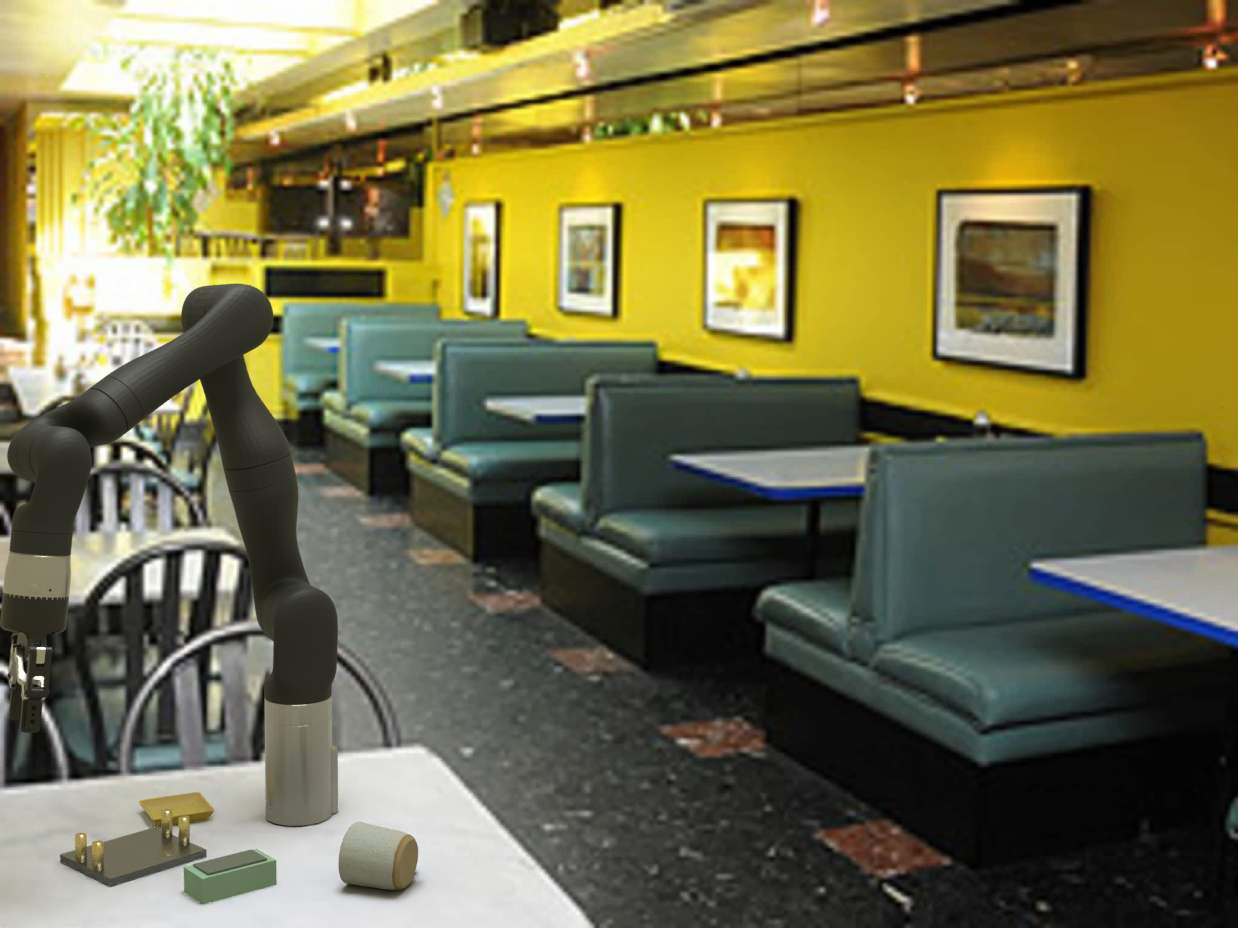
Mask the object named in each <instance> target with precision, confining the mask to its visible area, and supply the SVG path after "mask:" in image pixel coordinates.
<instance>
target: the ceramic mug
mask: <svg viewBox="0 0 1238 928" xmlns="http://www.w3.org/2000/svg"><path fill="white" fill-rule="evenodd" d="M418 860H419V847H418V842H417V840H416V838H415V837H414V836H413V835H412V834H409V833H408V832H405V831H402V830H396V829H393V828H392V829H391V828H387V827H384V826H380V825H376V824H370V823H365V822H362V821H355V822H354V823H352V824H351V825H350V826H349V827H348V829H347V831H346V832H345V833H344V836H343V838H342V842H341V845H340V848H339V853H338V864H337V866H338V874H339V878H340V880H341V881H342V882H343V883H344V884H347V885H353V886H361V887H364V888H365V887H366V888H374V889H380V890H388V891H400V890H404V889H405V888H407V886H408V885H410V883H411V882H412V880H413V879H414V876H415V873H416V871H417V864H418Z"/></svg>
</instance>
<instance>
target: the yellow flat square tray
mask: <svg viewBox="0 0 1238 928" xmlns="http://www.w3.org/2000/svg"><path fill="white" fill-rule="evenodd" d="M138 803H139V805H140V806H141V808H143V810H144V811H145V813H146V814H147V815H148V817H149V818H150V819H151V821H152V822H153V824H154V825H155V827H156V828H162V821H161V810H163V809H172V826H179V823H178V818H179V817H180V816H189V823H190V824H191V823H197V822H198V823H199V822H204V821H207V820H208V819H209V818H210V817H211V816H212V815H213V813H214V812H215V808H214V807H213V806H212V805H211V804H210V802H209V801H208V800H207V799H206V798H205V796H203V794H202V793H201V792H200V791H198V792H197V791H195V792H188V793H187V792H186V793H180V794H173V795H166V796H158V797H153V798H145V799H141V800H139V801H138Z"/></svg>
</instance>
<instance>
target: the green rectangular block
mask: <svg viewBox="0 0 1238 928" xmlns="http://www.w3.org/2000/svg"><path fill="white" fill-rule="evenodd" d="M276 885H277V859H275V858H274V857H272V856H270V855H268V854H266V852H264V851H261V850H260V849H258V848H253V849H252V848H250V849H248V850H244V851H239V852H236V853H231V854H228V855H223V856H219V857H215V858H212V859H208V860H207V859H206V860H204V861H199V862H195V863H193V864H190V865H187V866H183V892H184V893H185V894H186V895H188V896H190V897H191V898H192V899H194V900H196V901H197V902H198V901H199V902H198V903H200V904H202V905H206V904H210V903H214V902H217V901H221V899H222V900H225V899H228V898H229V899H230V898H232V896H233V897H236V896H240V895H243V894H246V893H247V894H248V893H250V892H255V891H257V890H261V889H266V888H270V887H273V886H276ZM254 890H255V891H254ZM209 902H210V903H209Z"/></svg>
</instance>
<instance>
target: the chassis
mask: <svg viewBox="0 0 1238 928" xmlns="http://www.w3.org/2000/svg"><path fill="white" fill-rule="evenodd" d="M161 821H162V827H161V829H160V828H159V827H157V826H154V827H150V828H148V829H144V830H140V831H137V832H133V833H130V834H126V835H122V836H119V837H116V838H113V839H109V840H105V841H104V840H100V839H98V840H97V839H96V840H93V841H92V842H91V845H88V841H87V839H88V838H87V832H77V833H75V834H74V845H75V846H74V847H75V848H74V850H73V849H72V850H71V851H67V852H63V853H60V854H59V859H60V860H59V861H60V863H62V864H64V865H65V866H68V867H69V868H72V869H74V870H76V871H78V872H80V873H82V874H84V875H86V876H88V877H90V878H93V879H94V880H96V881H98V882H100V883H103V884H105V885H106V886H109V887H114V886H117V885H120V884H121V885H122V884H123V883H127V882H130V881H134V880H136V879H140V878H144V877H147V876H149V875H152V874H156V873H159V872H162V871H165V870H169V869H171V868H174V867H178V866H181V865H184V864H188V863H191V862H194V861H198V860H201V859H203V858H207V850H208V849H206V848H205V847H202V846H199V845H197V844H195V843H193V842H191V840H190V839H191V835H190V834H191V831H190V824H191V823H189V816H180V817H179V818H178V823H179V825H178V836H177V835H174V833H173V826H174V825H173V826H172V809H163V810H161ZM87 845H88V846H87Z"/></svg>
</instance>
